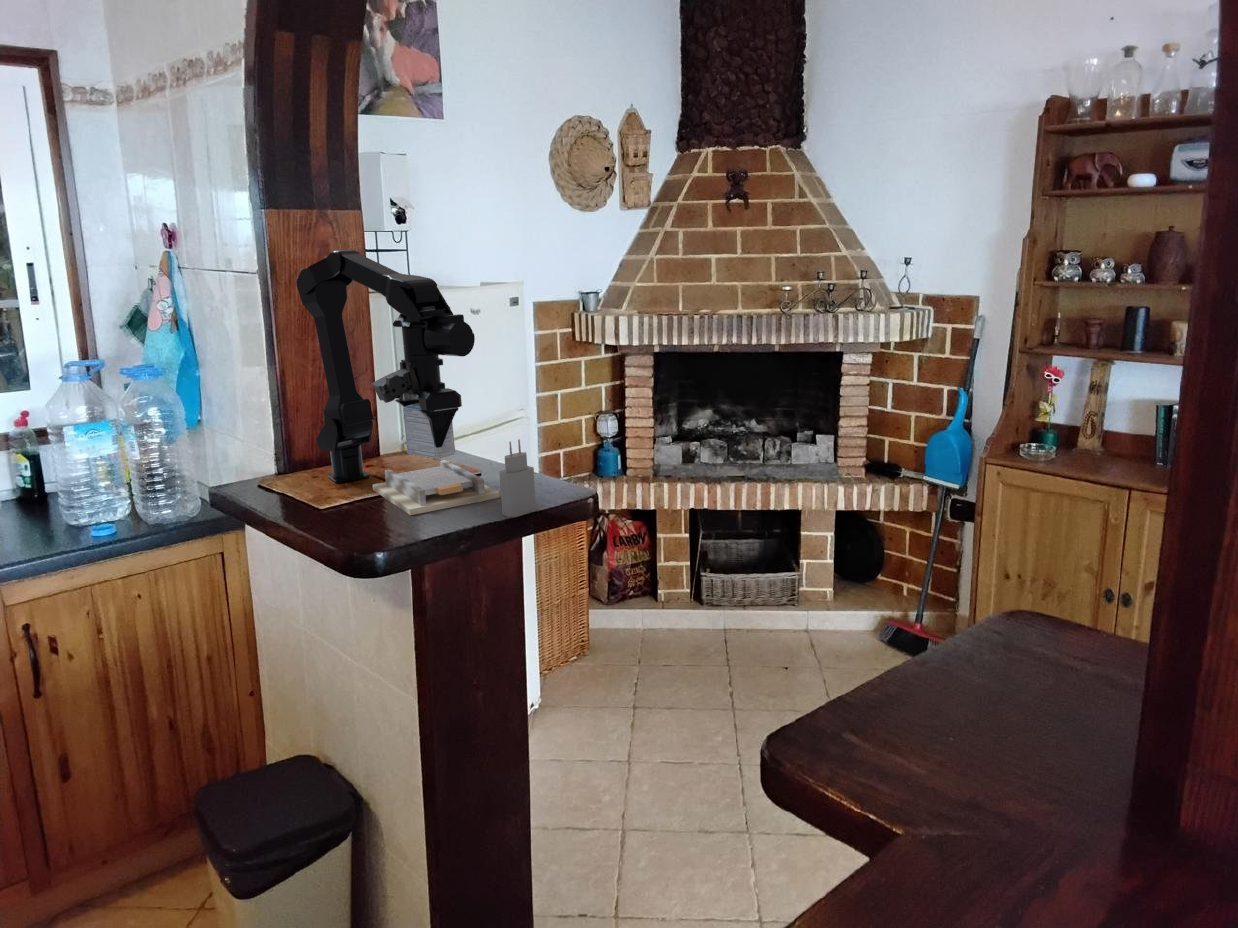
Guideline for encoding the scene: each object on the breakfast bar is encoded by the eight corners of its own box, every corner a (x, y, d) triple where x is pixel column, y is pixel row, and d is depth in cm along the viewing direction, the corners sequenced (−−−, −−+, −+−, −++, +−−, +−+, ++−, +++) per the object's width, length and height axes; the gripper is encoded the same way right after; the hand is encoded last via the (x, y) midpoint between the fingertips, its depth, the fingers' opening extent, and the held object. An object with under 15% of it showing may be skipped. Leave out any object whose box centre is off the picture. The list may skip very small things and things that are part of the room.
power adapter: (538, 509, 151) (533, 438, 149) (512, 517, 148) (507, 444, 145) (525, 506, 154) (521, 436, 151) (500, 514, 150) (495, 442, 147)
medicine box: (456, 454, 162) (452, 405, 159) (437, 460, 158) (432, 410, 156) (426, 449, 166) (421, 401, 164) (406, 454, 163) (401, 406, 161)
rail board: (373, 489, 168) (370, 471, 167) (455, 475, 176) (454, 457, 175) (410, 515, 151) (408, 494, 151) (499, 497, 159) (498, 478, 159)
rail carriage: (396, 479, 167) (395, 473, 167) (443, 470, 171) (442, 465, 171) (426, 497, 154) (425, 492, 154) (476, 488, 158) (476, 482, 158)
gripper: (358, 353, 161) (367, 440, 165) (393, 364, 146) (402, 460, 150) (419, 347, 167) (427, 431, 171) (459, 357, 151) (466, 449, 155)
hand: (429, 442), depth 162 cm, fingers closed on medicine box, 9 cm apart
